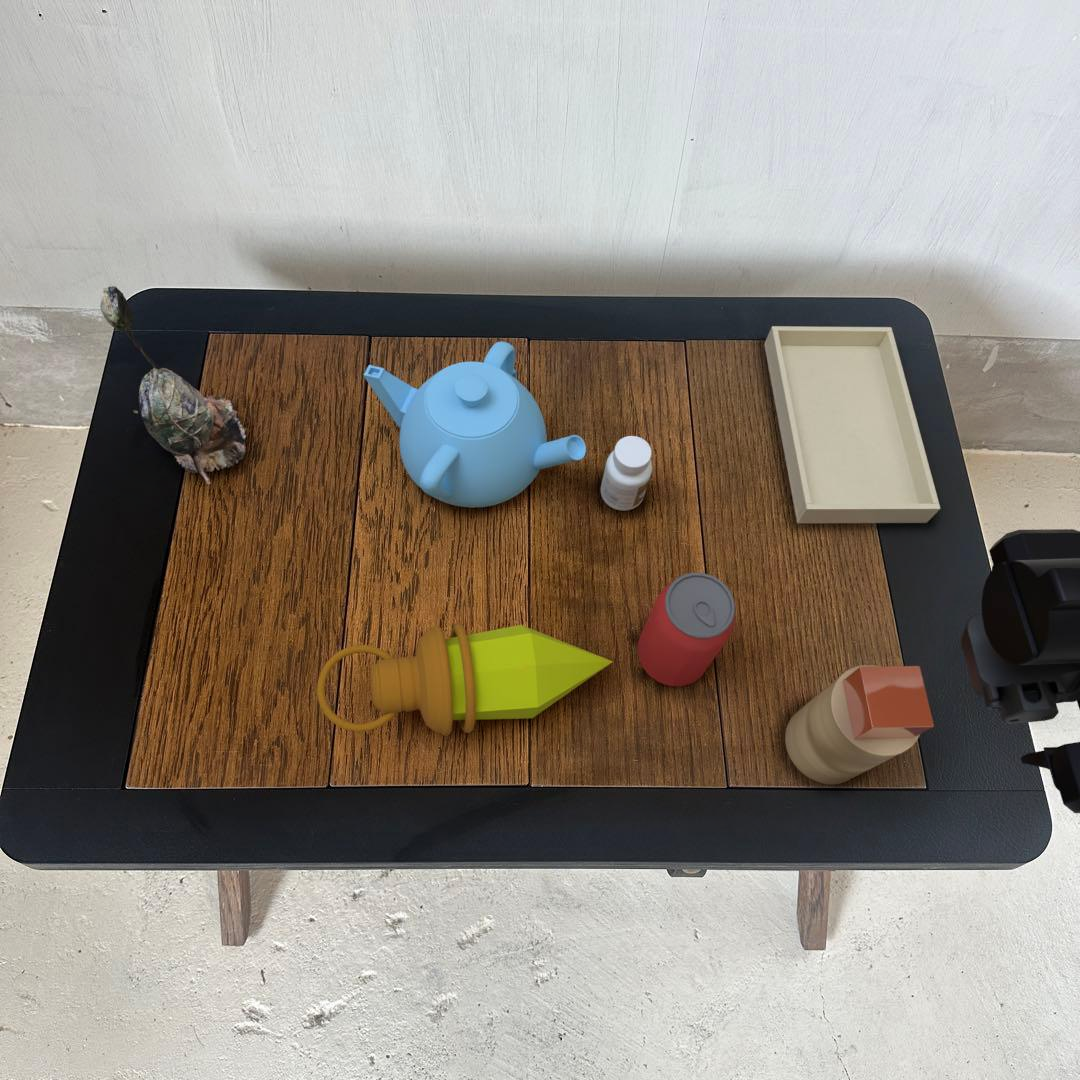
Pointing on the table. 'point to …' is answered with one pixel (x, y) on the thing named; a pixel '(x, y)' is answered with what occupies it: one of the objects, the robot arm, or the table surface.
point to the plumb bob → (470, 677)
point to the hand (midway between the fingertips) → (1009, 698)
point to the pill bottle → (627, 473)
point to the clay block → (887, 702)
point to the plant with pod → (181, 408)
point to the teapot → (472, 430)
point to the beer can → (686, 629)
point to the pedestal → (835, 739)
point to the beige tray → (848, 426)
